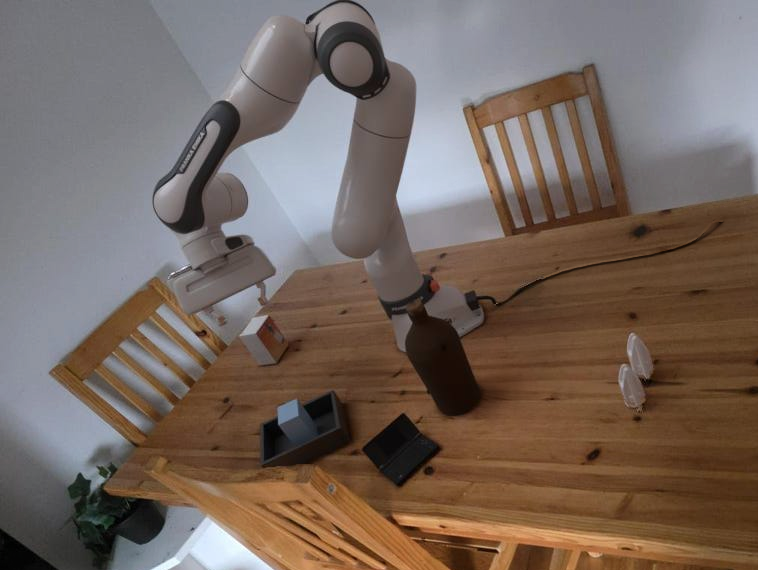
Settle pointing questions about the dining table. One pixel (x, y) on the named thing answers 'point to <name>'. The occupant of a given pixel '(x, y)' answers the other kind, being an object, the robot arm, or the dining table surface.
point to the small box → (264, 340)
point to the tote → (330, 437)
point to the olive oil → (440, 361)
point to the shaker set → (634, 371)
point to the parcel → (296, 422)
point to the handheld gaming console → (399, 449)
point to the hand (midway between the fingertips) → (244, 314)
